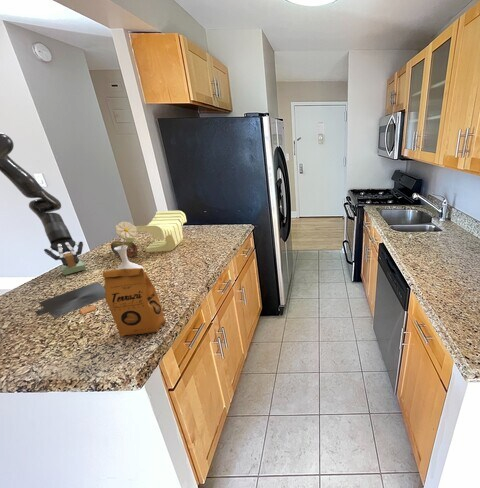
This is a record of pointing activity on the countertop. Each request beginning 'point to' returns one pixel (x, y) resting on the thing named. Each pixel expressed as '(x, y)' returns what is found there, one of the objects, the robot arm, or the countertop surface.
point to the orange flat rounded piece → (88, 309)
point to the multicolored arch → (130, 249)
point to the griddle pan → (72, 300)
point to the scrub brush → (71, 265)
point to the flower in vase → (126, 232)
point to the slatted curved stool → (165, 230)
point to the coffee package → (133, 301)
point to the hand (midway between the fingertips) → (72, 264)
